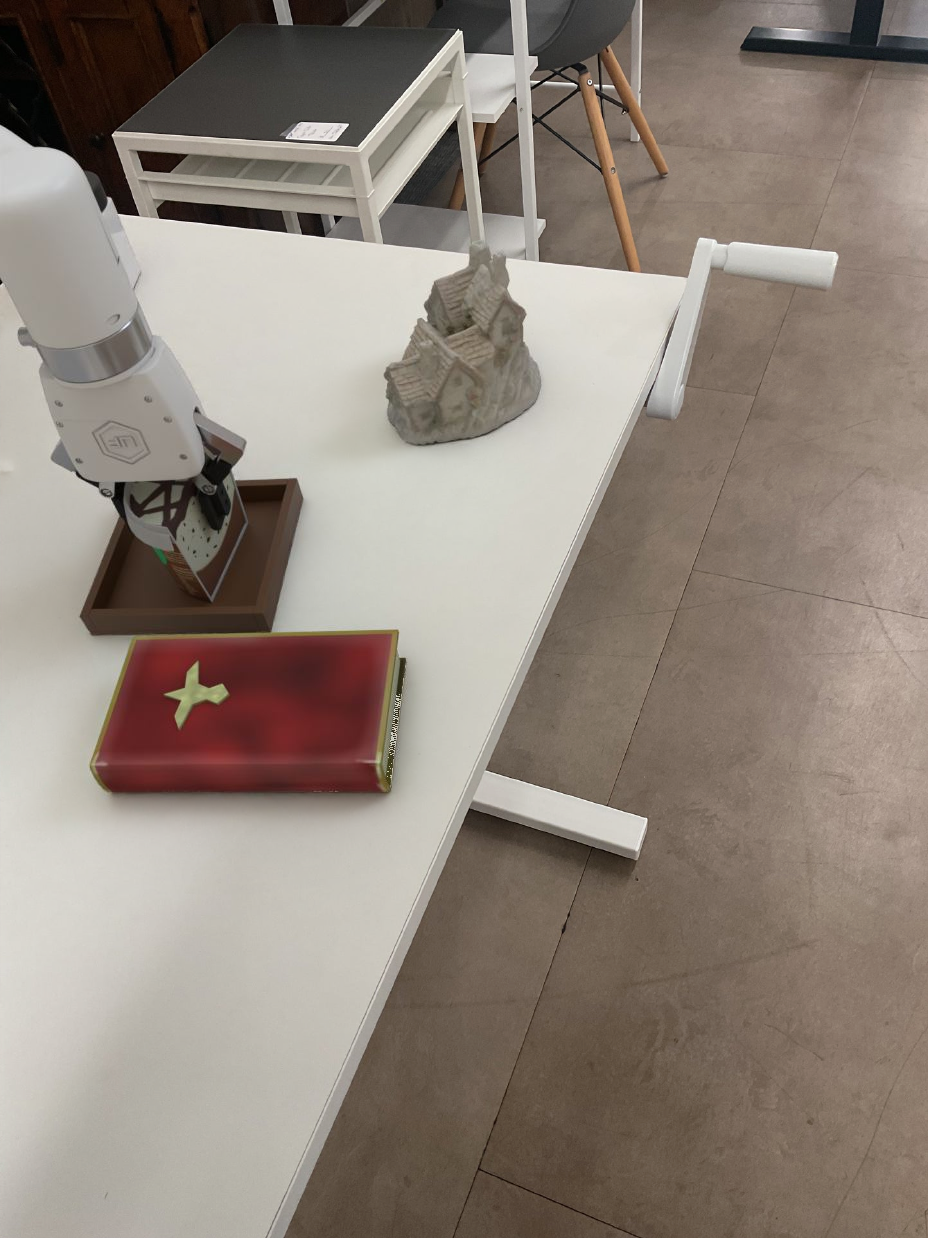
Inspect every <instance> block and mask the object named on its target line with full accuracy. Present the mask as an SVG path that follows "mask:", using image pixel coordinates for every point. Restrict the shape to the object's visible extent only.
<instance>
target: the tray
mask: <svg viewBox="0 0 928 1238" xmlns="http://www.w3.org/2000/svg"><path fill="white" fill-rule="evenodd" d="M235 482H236V485H237V489H238V492H239V495H240V498H241V501H242V504H243V507H244V510H245V514H246V517H247V520H248V525H247V527H246V529H245V532H244V534H243V536H242V538H241V540H240V543H239V545H238V547H237V549H236V551H235V554H234V556H233V558H232V560H231V562H230V565H229V567H228V569H227V571H226V573H225V575H224V578H223V580H222V582H221V584H220V586H219V589H218V591H217V593H216V595H215V597H214V600H213V602H212V603H210V602H203V601H200V600H196V599H194V598H192V597H190V596H188V595H187V594H186V593H184V592H183V591H182V589H181V588H180V587H179V586H178V584H177V583H176V581H175V580H174V578H173V577H172V575H171V574H170V572H169V571H168V569H167V568H166V566H165V565H164V563H163V562H162V560H161V559H160V557H159V556H158V554H157V553H156V551H155V550H154V548H153V547H152V546H150V545H148V544H146V543H144V542H143V541H141V540H140V539H139V538H137V537H136V535H135V534H134V533H131V532H130V531H129V529H128V527H127V525H126V523H125V521H124V520H123V518H121V517H120V515H119V516H118V518H117V520H116V524H115V526H114V529H113V531H112V534H111V536H110V538H109V540H108V543H107V546H106V549H105V551H104V552H103V553H104V554H103V556H102V557H101V558H102V559H101V561H100V563H99V566H98V569H97V572H96V573H95V576H94V578H93V581H92V584H91V586H90V589H89V591H88V594H87V596H86V598H85V600H84V603H83V606H82V609H81V611H80V613H79V618H80V620H81V621H82V623H83V624H84V627H85V628H86V629H87V631H88V632H89V634H90V635H91V636H115V635H120V636H121V635H123V636H124V635H189V634H231V633H272V630H273V625H274V620H275V616H276V611H277V609H278V604H279V601H280V600H279V599H280V596H281V592H282V587H283V584H284V580H285V575H286V571H287V567H288V563H289V558H290V555H291V550H292V546H293V542H294V540H295V539H294V538H295V534H296V530H297V526H298V522H299V518H300V514H301V509H302V505H303V502H304V494H303V491H302V489H301V487H300V484H299V480H298V478H297V477H290V478H289V477H288V478H263V479H239V480H238V479H237V480H236V479H235Z"/></svg>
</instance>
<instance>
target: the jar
mask: <svg viewBox="0 0 928 1238" xmlns="http://www.w3.org/2000/svg"><path fill="white" fill-rule="evenodd" d="M83 172H84V174H85V176H86V178H87V180H88V182H89V185H90V187H91V189H92V192H93V194H94V196H95V199H96V201H97V204H98V206H99V208H100V211H101V213H102V216H103V218H104V220H105V223H106V225H107V228H108V230H109V232H110V235H111V237H112V239H113V242H114V244H115V247H116V249H117V251H118V254H119V256H120V259H121V261H122V264H123V266H124V268H125V271H126V273H127V276H128V278H129V280H130V283H131V285H132V288H133V289H134V288H135V285H136V283H137V281H138V279H139V276H140V274H141V272H142V270H141V267H140V265H139V262H138V260H137V257H136V255H135V253H134V250H133V248H132V245H131V243H130V240H129V237H128V235H127V232H126V231H125V228H124V225H123V223H122V220H121V218H120V216H119V213H118V211H117V208H116V206H115V204H114V201H113V199H112V197H110V196H107V194H106V192H105V189H104V187H103V185H102V182H101V180H100V178H99V176H98V175H97V174H95V173H94V172H91V171H89V170H83Z"/></svg>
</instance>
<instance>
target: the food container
mask: <svg viewBox="0 0 928 1238" xmlns="http://www.w3.org/2000/svg"><path fill="white" fill-rule="evenodd" d="M203 445H204V446H205V447H206V448H207V449H208V450H209V451H210V452H211V453H212V454H213V455H214V456H215V457H216V456H217V455H218V454H219V453H220V452H221V451H220V450H218V449H216V448H214V447H213V446H211V445H209V444H207V443H204V444H203ZM202 470H203V471H205V470H206V469H205V468H204V467H203V468H202ZM235 480H236V479H235V476H234V473H233V469H231V471H230V473H229V475H228V476H227V477H226V478H225V479H224V480H223V484H224V486H225V488H226V491H227V493H228V496H229V498H230V501H231V510H230V513H229V515H226V516H225V519H224V522H223V526H222V529H221V530H217V531H214V530H213V529H211V527H210V525H209V522H208V520H207V518H206V516H205V513H204V511H203V509H202V507H201V504H200V502H199V500H198V495H199V492H200V489H199V488H198V487H197V486H196V485H195V484H194V483H193V482H192V481H191V480H190V479H189V478H188V479H180V480H159V481H133V482H126V483H125V487H124V507H125V512H126V516H127V521H128V525H129V527H130V529H131V531H132V532H133V533H134V534H135V535H136V537H137V538H139V539H140V540H141V541H143V542H144V543H146V544H148V545H150V546H152V547H153V548H154V550H155V551H156V553H157V554H158V556H159V557H160V559H161V560H162V562H163V563H164V565H165V566H166V568H167V569H168V571H169V572H170V574H171V575H172V577H173V578H174V580H175V581H176V583H177V584H178V586H179V587H180V588H181V589H182V591H183V592H184V593H186V594H187V595H188V596H190V597H192V598H194V599H196V600H200V601H203V602H210V603H212V602H213V600H214V597H215V595H216V593H217V591H218V589H219V586H220V584H221V582H222V580H223V578H224V575H225V573H226V571H227V569H228V567H229V565H230V562H231V560H232V558H233V556H234V554H235V551H236V549H237V547H238V545H239V543H240V540H241V538H242V536H243V534H244V532H245V529H246V527H247V525H248V520H247V517H246V514H245V510H244V507H243V504H242V501H241V498H240V495H239V492H238V489H237V485H236V482H235Z"/></svg>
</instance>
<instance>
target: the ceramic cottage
mask: <svg viewBox="0 0 928 1238" xmlns="http://www.w3.org/2000/svg"><path fill="white" fill-rule="evenodd" d="M468 249H469V250H468V251H469V252H468V253H469V254H468V257H469V258H468V265H467V266H466V267H465V268H462V269H460V270H457V271H456V272H454V273H452V274H449V275H446V276H443V277H440V278H438V279H436V280H434V281H433V285H431V290H430V294H429V295H428V298H427V299H426V300H425V301H424V303H423V308H424V309H425V312H426V314H427V315H426V320H427V321H426V320H425V319H424V318H423V317H418V318H417V319H416V324H415V326H413V329H414V330H413V332H412V333H411V335H410V337H409V338H410V341H409V342H408V345H407V347H406V348H405V350H404V353H403V355H402V358H401V360H399V361H393V362H390V364H388V365H387V366H386V367H385V371H384V372H383V379H385V380H386V381H387V383H386V389H385V399H386V400H387V401H388V403H387V408H386V410H387V411H386V414H387V417H388V421H389V422H390V423H391V424H392V426H394V427H395V430H396V432H397V433H398V434H399V436H400V438H401V439H402V440H404V442H405V443H409V444H412V445H413V444H414V445H415V446H416V445H421V446H422V445H423V446H425V445H427V444H434V443H435V442H437V443H447V442H450V441H455V440H460V439H462V440H465V439H467V438H470V439H474V438H476V437H477V436H478V437H480V436H481V435H484V434H488V433H489V432H491V431H493V430H496V429H498V428H500V427H501V426H502V425H504V424H506V422H511V420H515V418H517V417H519V416H521V414H523V413H524V411H526V410H529V408H531V407H532V406H533V404H535V403H536V401H537V398H538V396H539V394H540V391H541V383H542V379H541V373H540V369H539V365H538V362H536V361H535V359H533V357H532V356H531V353H530V350H529V347H528V346H527V344H526V342H525V341H524V324H523V323H524V321H525V319H526V317H527V311H526V309H525V308H524V307H523V306H522V305H519V303H518V302H517V301H515V300H514V298H512V296H511V294H510V291H509V289H508V287H509V284H510V282H511V281H510V280H511V279H510V275H509V271H508V268H507V265H506V264H507V256H508V255H507V254H506V252H505V250H503V249H501V250H498V251H496V252H495V253H493V254H491V250H490V246H489V245H488V242H486V240H485V239H482V238H480V239H477V240H474V241H472V242H471V243H470V245H469V248H468Z"/></svg>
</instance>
